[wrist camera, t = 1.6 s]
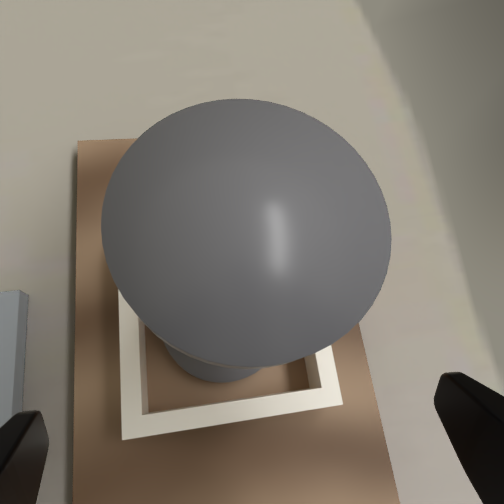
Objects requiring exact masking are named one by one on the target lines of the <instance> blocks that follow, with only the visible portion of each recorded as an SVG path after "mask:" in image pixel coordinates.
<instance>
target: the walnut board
mask: <svg viewBox="0 0 504 504" xmlns="http://www.w3.org/2000/svg"><path fill="white" fill-rule="evenodd" d="M136 140H137V139H112V140H87V141H78V159H77V227H76V295H75V363H74V431H73V500H72V504H400V501H399V497H398V493H397V488H396V484H395V480H394V475H393V471H392V466H391V462H390V458H389V453H388V449H387V445H386V440H385V436H384V432H383V427H382V423H381V419H380V414H379V410H378V406H377V401H376V397H375V393H374V388H373V384H372V380H371V375H370V371H369V366H368V362H367V358H366V353H365V349H364V345H363V340H362V336H361V332H360V327H359V323H357V324H356V325H355V326H354V327H353V328H352V329H351V330H350V331H349V332H348V333H347V334H345V335H344V336H343V337H341V338H340V339H339V340H337V341H336V342H334V343H333V344H332V345H331V347H332V352H333V357H334V362H335V367H336V372H337V377H338V382H339V387H340V392H341V396H342V401H343V405H337V406H331V407H325V408H319V409H313V410H306V411H300V412H294V413H288V414H282V415H276V416H269V417H263V418H257V419H251V420H245V421H238V422H232V423H226V424H220V425H214V426H208V427H201V428H195V429H189V430H183V431H177V432H171V433H164V434H158V435H152V436H146V437H140V438H133V439H127V440H122V422H121V379H120V337H119V294H118V287H117V286H116V284H115V282H114V280H113V278H112V275H111V273H110V270H109V268H108V265H107V262H106V258H105V254H104V249H103V245H102V235H101V216H102V206H103V201H104V197H105V193H106V189H107V186H108V184H109V181H110V179H111V176H112V173H113V172H114V170H115V168H116V166H117V165H118V163H119V161H120V159H121V158H122V156H123V155H124V154H125V153H126V151H127V150H128V149H129V147H130V146H131V145H132V144H133V143H134V142H135V141H136ZM145 345H146V367H147V390H148V412H149V413H150V412H157V411H163V410H170V409H177V408H183V407H190V406H196V405H203V404H209V403H216V402H223V401H229V400H236V399H242V398H249V397H255V396H262V395H269V394H275V393H282V392H288V391H295V390H301V389H308V388H310V387H309V381H308V376H307V370H306V364H305V359H304V357H303V358H301V359H298V360H295V361H292V362H289V363H286V364H283V365H278V366H273V367H268V368H262V369H260V370H259V371H257V372H256V373H254V374H252V375H251V376H249V377H246V378H243V379H241V380H238V381H233V382H226V383H217V382H210V381H205V380H202V379H199V378H197V377H195V376H193V375H191V374H189V373H188V372H186V371H185V370H184V369H182V368H181V367H180V366H179V365H178V364H177V363H176V361H175V360H174V359H173V358H172V356H171V355H170V354H169V352H168V350H167V348H166V346H165V344H164V342H163V340H161V339H160V338H159V337H157V336H156V335H155V334H154V333H153V332H152V331H151V330H150V329H149V328H148V327H147V326H146V325H145Z"/></svg>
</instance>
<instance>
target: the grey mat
mask: <svg viewBox="0 0 504 504" xmlns="http://www.w3.org/2000/svg"><path fill="white" fill-rule="evenodd" d="M27 312H28V295H27V294H26V293H24V292H22V291H20V290H16V291H6V292H0V427H1V426H2V425H4V424H5V423H6V422H7V421H8V420H9V419H10V418H11V417H12V416H14V415H15V414H16V413H18V412H22V401H23V383H24V365H25V348H26V330H27Z"/></svg>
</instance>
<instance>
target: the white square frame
mask: <svg viewBox="0 0 504 504" xmlns="http://www.w3.org/2000/svg"><path fill="white" fill-rule="evenodd" d="M118 294H119V337H120V379H121V422H122V440H127V439H133V438H140V437H146V436H152V435H158V434H164V433H171V432H177V431H183V430H189V429H195V428H201V427H208V426H214V425H220V424H226V423H232V422H238V421H245V420H251V419H257V418H263V417H269V416H276V415H282V414H288V413H294V412H300V411H306V410H313V409H319V408H325V407H331V406H337V405H343V401H342V396H341V392H340V387H339V382H338V377H337V372H336V367H335V362H334V357H333V352H332V347H331V345H330V346H328V347H326V348H324V349H322V350H320V351H318V352H316V353H314V354H312V355H309V356H306V357H304V359H305V364H306V370H307V376H308V381H309V387H310V388H308V389H301V390H295V391H288V392H282V393H275V394H269V395H262V396H255V397H249V398H242V399H236V400H229V401H223V402H216V403H209V404H203V405H196V406H190V407H183V408H177V409H170V410H163V411H157V412H150V413H149V412H148V390H147V367H146V345H145V324H144V323H143V322H142V321H141V319H140V318H139V317H138V316H137V315H136V313H135V312H134V311H133V310H132V308H131V307H130V306H129V304H128V303H127V302H126V301H125V299H124V298H123V296H122V294H121V293H120V291H119V289H118Z"/></svg>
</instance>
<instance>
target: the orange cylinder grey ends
mask: <svg viewBox="0 0 504 504" xmlns="http://www.w3.org/2000/svg"><path fill="white" fill-rule="evenodd" d="M101 235H102V245H103V249H104V254H105V258H106V262H107V265H108V268H109V270H110V273H111V275H112V278H113V280H114V282H115V284H116V286H117V287H118V289H119V291H120V293H121V294H122V296H123V298H124V299H125V301H126V302H127V303H128V304H129V306H130V307H131V308H132V310H133V311H134V312H135V313H136V315H137V316H138V317H139V318H140V319H141V321H142V322H143V323H144V324H145V325H146V326H147V327H148V328H149V329H150V330H151V331H152V332H153V333H154V334H155V335H156V336H157V337H159V338H160V339H161V340H163V342H164V344H165V346H166V348H167V350H168V352H169V354H170V355H171V356H172V358H173V359H174V360H175V361H176V363H177V364H178V365H179V366H180V367H181V368H182V369H184V370H185V371H186V372H188V373H189V374H191V375H193V376H195V377H197V378H199V379H202V380H205V381H210V382H217V383H226V382H233V381H238V380H241V379H243V378H246V377H249V376H251V375H252V374H254V373H256V372H257V371H259V370H260V369H262V368H268V367H273V366H278V365H283V364H286V363H289V362H292V361H295V360H298V359H301V358H303V357H306V356H309V355H312V354H314V353H316V352H318V351H320V350H322V349H324V348H326V347H328V346H330V345H332V344H333V343H334V342H336V341H337V340H339V339H340V338H341V337H343V336H344V335H345V334H347V333H348V332H349V331H350V330H351V329H352V328H353V327H354V326H355V325H356V324H357V323H358V322H359V321H360V320H361V319H362V318H363V316H364V315H365V314H366V313H367V311H368V310H369V309H370V307H371V306H372V304H373V303H374V301H375V299H376V297H377V295H378V293H379V292H380V290H381V287H382V284H383V282H384V279H385V276H386V274H387V269H388V265H389V260H390V253H391V226H390V219H389V214H388V209H387V205H386V202H385V199H384V196H383V194H382V191H381V189H380V187H379V185H378V182H377V180H376V178H375V176H374V175H373V173H372V172H371V170H370V169H369V167H368V165H367V164H366V162H365V161H364V160H363V159H362V157H361V156H360V155H359V154H358V153H357V151H356V150H355V149H354V148H353V147H352V146H351V145H350V144H349V143H348V142H347V141H346V140H345V139H344V138H343V137H341V136H340V135H339V134H337V133H336V132H335V131H334V130H332V129H331V128H330V127H328V126H327V125H325V124H323V123H322V122H320V121H319V120H317V119H315V118H313V117H311V116H309V115H307V114H305V113H303V112H301V111H298V110H295V109H292V108H290V107H287V106H284V105H280V104H276V103H272V102H267V101H260V100H253V99H227V100H216V101H211V102H205V103H201V104H198V105H194V106H191V107H188V108H185V109H183V110H180V111H178V112H176V113H173V114H171V115H169V116H168V117H166V118H164V119H162V120H161V121H159V122H157V123H156V124H155V125H153V126H152V127H151V128H149V129H148V130H147V131H145V132H144V133H143V134H142V135H141V136H140V137H139V138H138V139H137V140H136V141H135V142H134V143H133V144H132V145H131V146H130V147H129V149H128V150H127V151H126V153H125V154H124V155H123V156H122V158H121V159H120V161H119V163H118V165H117V166H116V168H115V170H114V172H113V173H112V176H111V179H110V181H109V184H108V186H107V189H106V193H105V197H104V201H103V206H102V216H101Z"/></svg>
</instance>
